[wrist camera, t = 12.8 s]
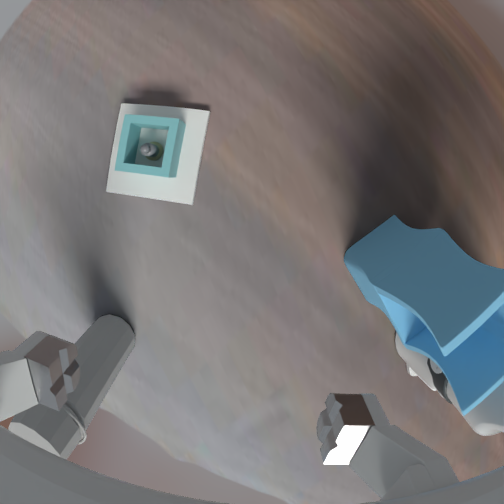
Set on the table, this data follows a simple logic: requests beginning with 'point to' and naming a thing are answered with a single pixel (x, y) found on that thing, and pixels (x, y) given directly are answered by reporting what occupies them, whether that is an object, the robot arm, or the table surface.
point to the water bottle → (80, 389)
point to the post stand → (161, 155)
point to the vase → (436, 303)
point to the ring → (131, 140)
